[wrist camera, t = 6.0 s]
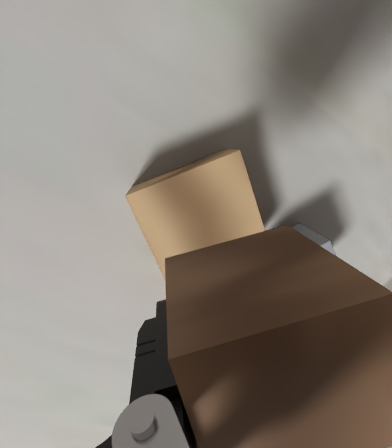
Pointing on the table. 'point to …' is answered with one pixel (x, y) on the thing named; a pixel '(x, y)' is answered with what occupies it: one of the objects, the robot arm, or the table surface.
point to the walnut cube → (279, 345)
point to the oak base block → (196, 206)
